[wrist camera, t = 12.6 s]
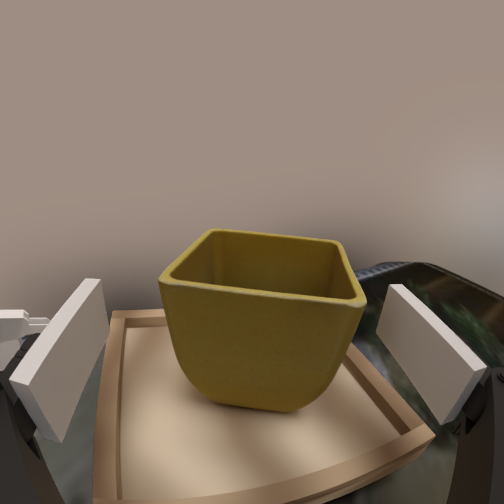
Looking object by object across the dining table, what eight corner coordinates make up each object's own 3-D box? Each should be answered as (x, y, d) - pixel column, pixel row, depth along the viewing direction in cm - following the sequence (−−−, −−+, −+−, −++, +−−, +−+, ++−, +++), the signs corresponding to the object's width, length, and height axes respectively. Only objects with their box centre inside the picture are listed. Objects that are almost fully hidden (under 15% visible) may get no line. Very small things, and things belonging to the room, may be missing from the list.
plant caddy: (300, 346, 30) (309, 297, 28) (396, 481, 14) (435, 435, 12) (123, 363, 25) (113, 310, 23) (128, 546, 9) (93, 519, 7)
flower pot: (209, 335, 23) (209, 224, 20) (319, 349, 22) (341, 238, 19) (171, 417, 15) (153, 278, 12) (323, 439, 14) (370, 305, 11)
